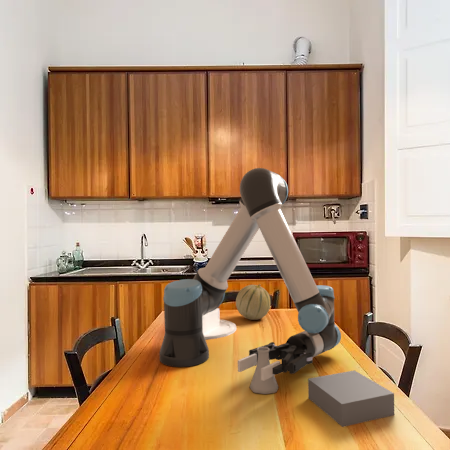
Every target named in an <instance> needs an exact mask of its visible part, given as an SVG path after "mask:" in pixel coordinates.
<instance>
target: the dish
mask: <svg viewBox="0 0 450 450" xmlns="http://www.w3.org/2000/svg"><path fill="white" fill-rule="evenodd" d="M220 315H221V314H220V308H219V307H218V308H216V309H215V310H213V311H211V312H209V313H207V314H205V315H203V316H202V324H203V325H202V327H203V334H204V337H205V340H206V341H207V340H214V339H220V338H225V337H228V336H230V335H233V334H234V333H236V331H237V325H236V323H234V322H232V321H230V320H226V319H222V318H220Z"/></svg>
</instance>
